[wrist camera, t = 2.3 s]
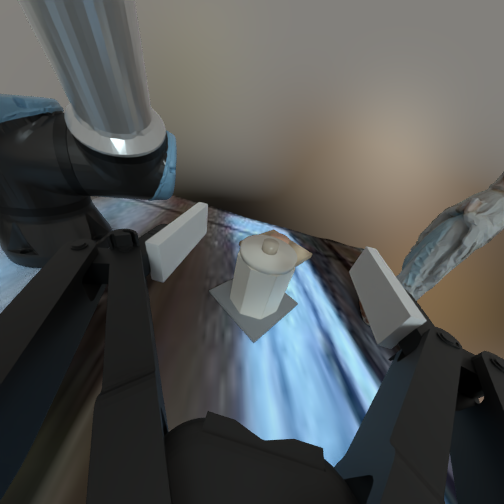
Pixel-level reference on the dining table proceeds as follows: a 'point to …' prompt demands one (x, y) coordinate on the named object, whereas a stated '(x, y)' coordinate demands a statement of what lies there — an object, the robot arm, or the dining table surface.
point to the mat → (249, 324)
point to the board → (301, 252)
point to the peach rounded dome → (281, 237)
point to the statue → (452, 239)
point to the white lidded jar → (262, 275)
